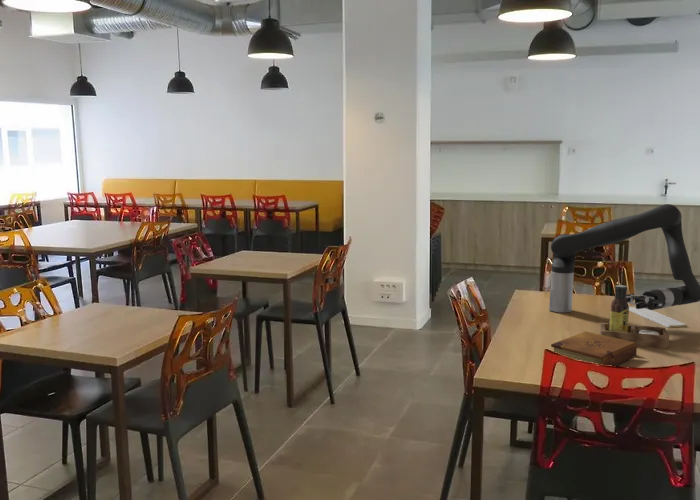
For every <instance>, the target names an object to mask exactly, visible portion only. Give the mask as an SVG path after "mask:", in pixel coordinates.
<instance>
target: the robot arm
mask: <svg viewBox="0 0 700 500" xmlns="http://www.w3.org/2000/svg"><path fill="white" fill-rule="evenodd" d="M682 225H683V224H682V213H681V211H680V210H679V208H678V207H677V206H675V205H674V204H671V203H668V204H667V203H666V204H662V205H660V206H656V207H654V208H652V209H649V210H647V211H644V212H641V213H638V214H633V215H628V216H624V217H620V218H616V219H612V220H610V221H606V222H603V223H600V224H598V225H595V226H593V227H590V228H587V229H586V230H584V231H581V232H578V233H573V234H568V233H563V234H560V235H558V236H557V237H556V236H555V238H553V240H552V241H551V244H550V250H551V252H552V254H553V259H552V264H551V269H550V270H551V271H550V273H551V274H550V290H549V309H548V311H550V312H555V313H562V314H563V313H571V312H572V309H573V291H574V275H575V274H574V273H575V266H576V265H575V264H576V255H577V254H576V253H578V252H582V251H585V250H587V249H592V248H597V247H598V248H599V247H602V246H603V247H604V246H607V245H612V244H615V243H620V242H623V241H626V240H628V239H631V238H633V237H635V236H637V235H639V234H641V233H643V232H647V231H651V230H655V229H659V228H660V229H661V230H662V233H663V235H664V240H665V241H666V246H667V253H668V262H669V265H670V266H669V267H670V269H671V274H672V277H673V279H674V280H675V281H682V282H683V283H684V285H682V286H678V287H665V288H655V289H648V290H645V291H644V292H643V293H642V294H638V295H637V294H635V293H628V294H627V293H626V300H627V303H628V304H630V306H635V307H636V309H642V308H645V309H648V310H653V311H655V310H661V309H667V308H669V307H674V306H683V305H688V304H689V305H690V304H693V303H698V302H700V283H699V282H698V280H697V277H695V274H694V273H693V269H692V266H691V262H690V258H689V255H688V251H687V248H686V243H685V241H684V236H683V227H682Z"/></svg>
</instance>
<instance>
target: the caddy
mask: <svg viewBox="0 0 700 500" xmlns="http://www.w3.org/2000/svg"><path fill="white" fill-rule="evenodd" d="M609 326H610V322H600V332H599V334H600V335H604V336H609V337H613V338H618V339H622V340H627V341H631V342H635V343H636V345H637V347H647V348H648V347H649V348H657V349H659V348H661V349H669V344H670V343H669V342H670V335H669V333H668V331H667V330H666V327H664V326H661V327H660V326H649V325H635V324H634V325H633V324H628V332H617V331H609ZM641 330H651V331H656V332H658V333H659V335H654V334H642V333H639V331H641Z"/></svg>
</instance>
